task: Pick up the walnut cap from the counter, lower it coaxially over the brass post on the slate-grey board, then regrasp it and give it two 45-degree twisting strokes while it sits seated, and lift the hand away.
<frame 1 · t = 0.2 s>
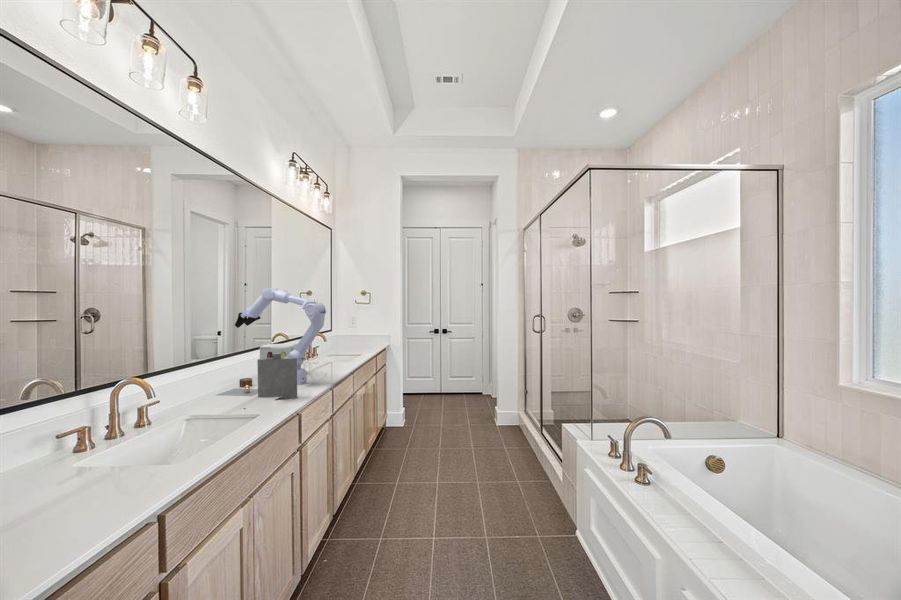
hand: (241, 325, 187), 31 cm above the worktop, tool tilted 45°, fingers open, 7 cm apart
cap: (245, 389, 179), on the worktop
supplement box: (280, 376, 209), on the worktop
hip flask: (277, 399, 160), on the worktop
board: (242, 395, 167), on the worktop
post: (247, 392, 165), resting on board
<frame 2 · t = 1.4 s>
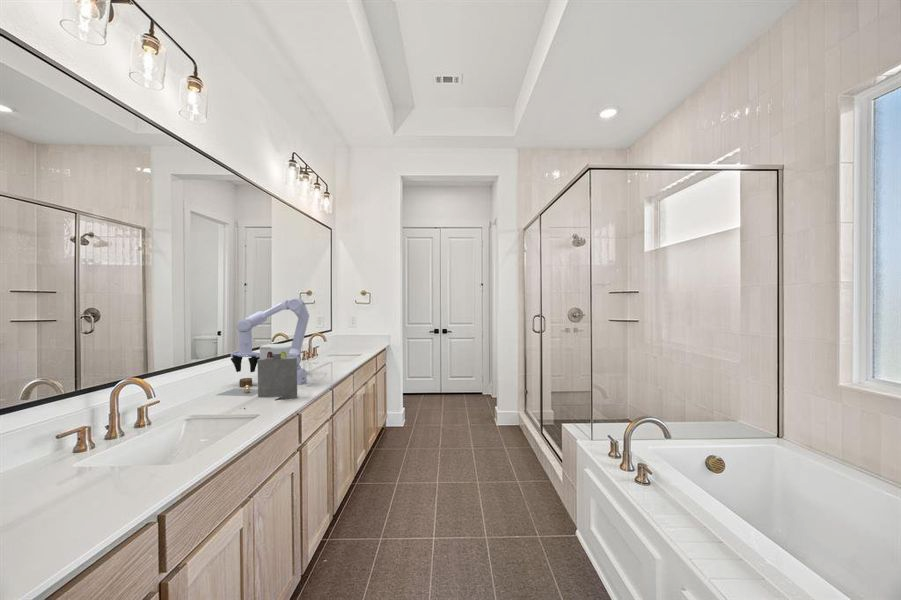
hand: (245, 371, 179), 9 cm above the worktop, tool pointing down, fingers open, 7 cm apart
nothing on the worktop moved.
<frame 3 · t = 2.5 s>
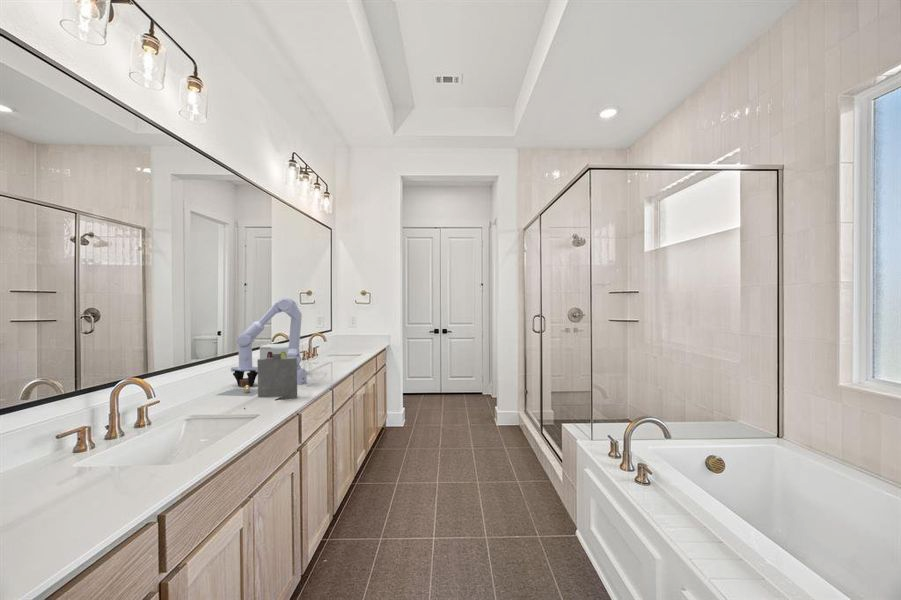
hand: (245, 386, 179), 1 cm above the worktop, tool pointing down, fingers closed on cap, 5 cm apart
cap: (245, 389, 179), on the worktop, touching gripper
everything else where it was.
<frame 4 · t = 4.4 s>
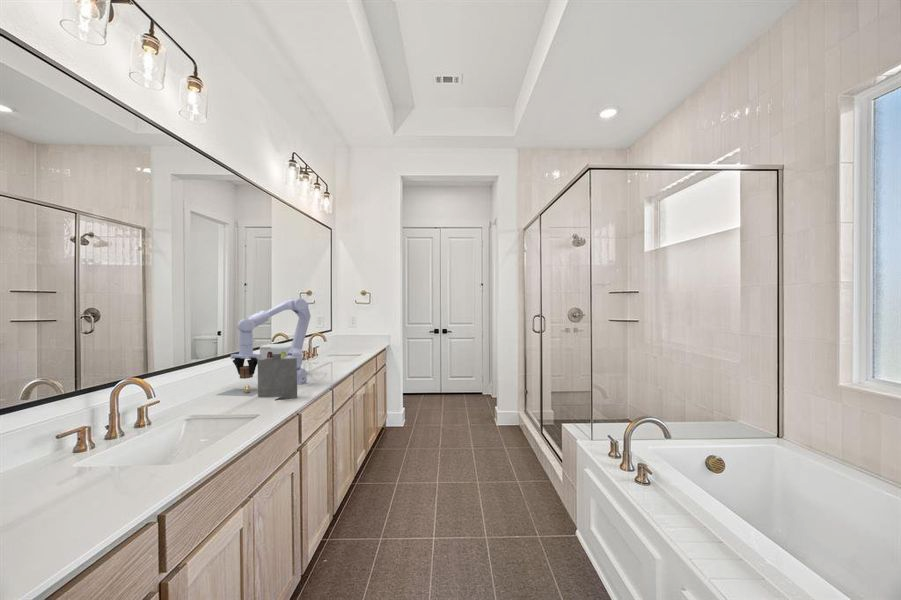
hand: (246, 374, 170), 9 cm above the worktop, tool pointing down, fingers closed on cap, 5 cm apart
cap: (246, 377, 170), point 8 cm above the worktop, touching gripper
everything else where it was.
when the fingers open (4 cm above the worktop, at t = 6.2 s): cap drops 1 cm, resting on board.
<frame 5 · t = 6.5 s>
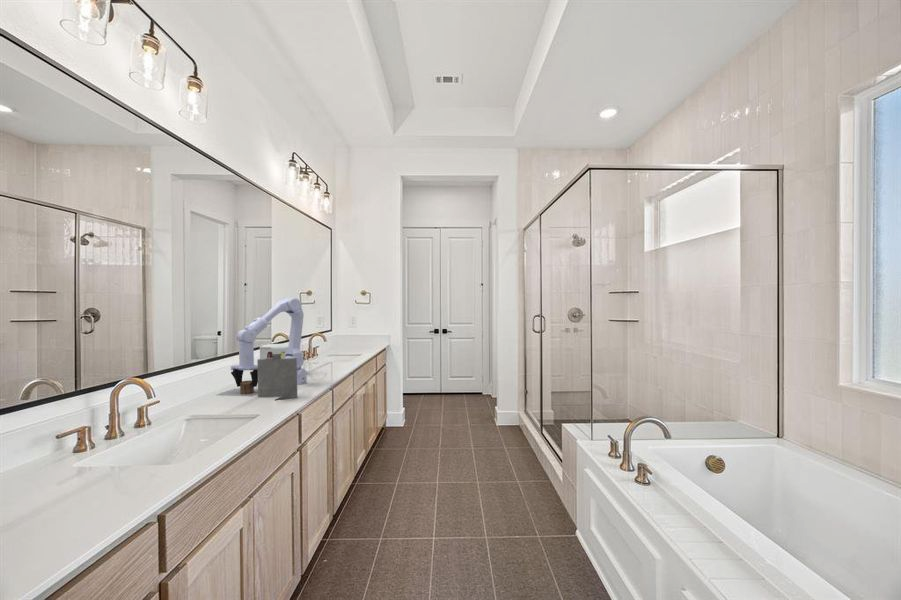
hand: (247, 386, 165), 4 cm above the worktop, tool pointing down, fingers open, 7 cm apart
cap: (247, 392, 165), point 1 cm above the worktop, touching board
everything else where it was.
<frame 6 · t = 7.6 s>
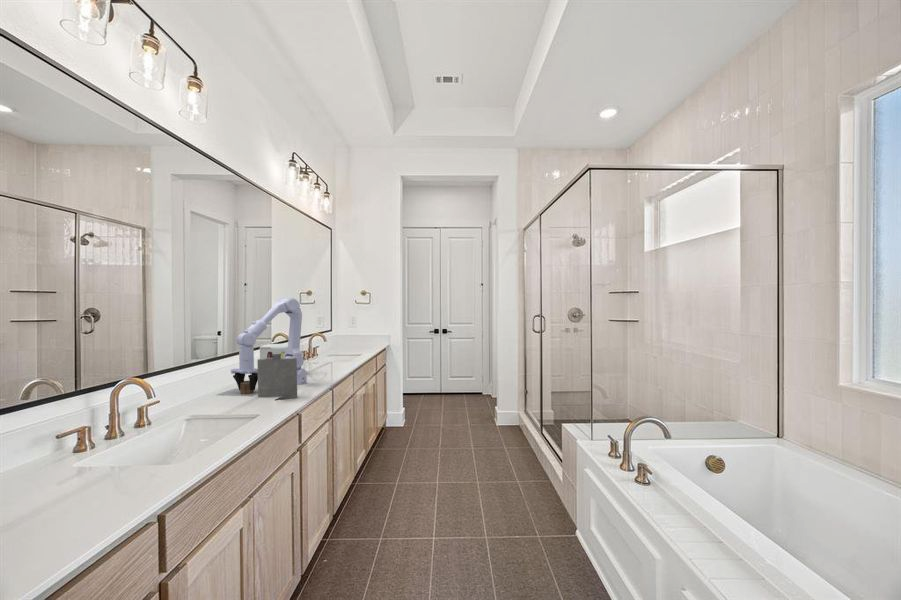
hand: (247, 389, 165), 3 cm above the worktop, tool pointing down, fingers closed on cap, 5 cm apart
cap: (247, 392, 165), point 1 cm above the worktop, touching board, gripper
everything else where it was.
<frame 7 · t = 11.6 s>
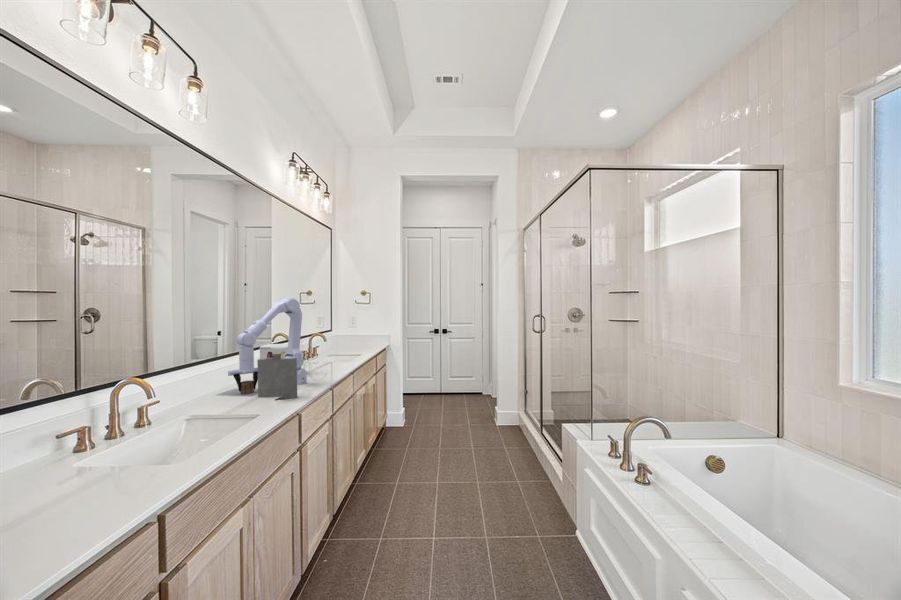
hand: (247, 389, 165), 3 cm above the worktop, tool pointing down, fingers closed on cap, 5 cm apart
cap: (247, 392, 165), point 2 cm above the worktop, touching gripper
everything else where it was.
when the fingers open (3 cm above the worktop, at t = 11.9 s): cap stays where it is, resting on board.
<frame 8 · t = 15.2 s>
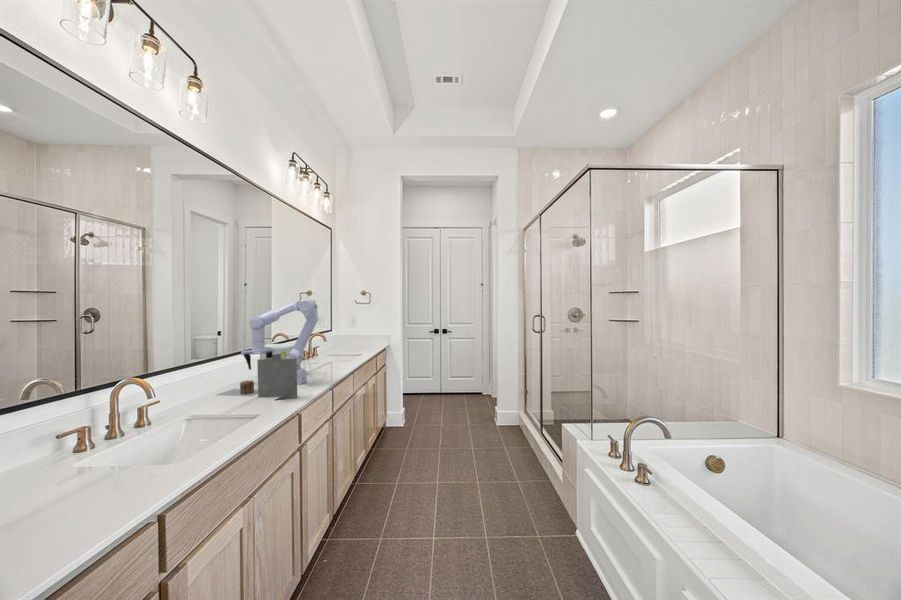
hand: (258, 368, 182), 9 cm above the worktop, tool pointing down, fingers open, 7 cm apart
cap: (247, 392, 165), point 1 cm above the worktop, touching board
everything else where it was.
at the end: cap 0.0 cm off-centre on the post, point 0.0 cm above the post's base; cap tilted 0°; the gripper is holding nothing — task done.
